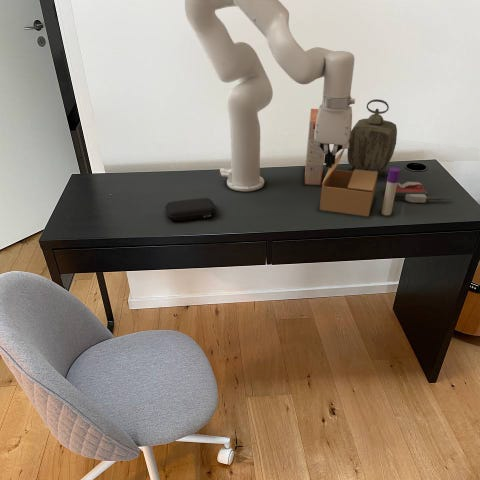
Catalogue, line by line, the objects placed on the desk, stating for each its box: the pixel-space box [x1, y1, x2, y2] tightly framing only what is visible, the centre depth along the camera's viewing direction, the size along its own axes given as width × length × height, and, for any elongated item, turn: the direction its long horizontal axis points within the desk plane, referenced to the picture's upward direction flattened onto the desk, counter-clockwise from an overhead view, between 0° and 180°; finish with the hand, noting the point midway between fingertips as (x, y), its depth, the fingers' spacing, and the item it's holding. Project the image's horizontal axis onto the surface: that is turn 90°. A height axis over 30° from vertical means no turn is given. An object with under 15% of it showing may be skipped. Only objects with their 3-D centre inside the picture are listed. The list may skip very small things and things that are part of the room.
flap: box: [321, 149, 346, 185], centre depth 149 cm, size 7×14×1 cm
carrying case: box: [164, 197, 217, 222], centre depth 150 cm, size 11×3×15 cm
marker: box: [381, 166, 401, 216], centre depth 146 cm, size 3×3×14 cm
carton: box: [319, 168, 379, 217], centre depth 152 cm, size 15×14×9 cm
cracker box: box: [304, 108, 325, 186], centre depth 165 cm, size 14×6×21 cm, turn 173°
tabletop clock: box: [346, 99, 398, 176], centre depth 164 cm, size 14×9×25 cm, turn 66°
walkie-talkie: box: [394, 181, 452, 204], centre depth 157 cm, size 9×4×20 cm
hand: (329, 165), depth 150 cm, fingers closed
